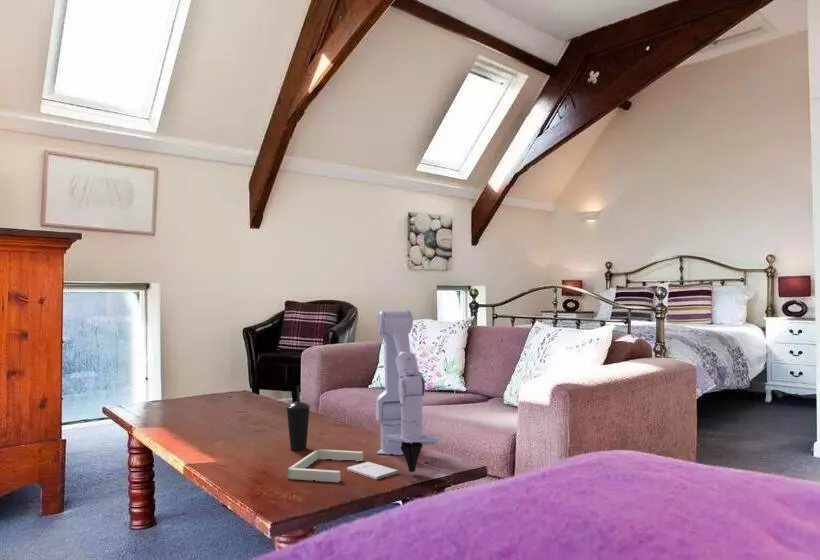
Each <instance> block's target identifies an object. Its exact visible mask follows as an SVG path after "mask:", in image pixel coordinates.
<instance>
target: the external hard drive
mask: <svg viewBox="0 0 820 560" xmlns="http://www.w3.org/2000/svg"><path fill="white" fill-rule="evenodd" d="M347 470H348V471H347ZM346 471H347V472H349V471H351V472H350V473H352V472H354V473H353V474H355V473H358V474H361V475H364V476H367V477H370V478H373V479H380V478H383V477H386V476H389V475H392V474H394V473H398V472H399V473H400V470H398V469H395V468H391V467H387V466H384V465H381V464H377V463H374V462H370V461H365V462H360V463H357V464H355V465H352V466H351V465H350V466H348V467H346ZM358 474H357V475H358ZM361 475H360V476H361ZM364 476H363V477H364ZM367 477H366V478H367ZM370 478H369V479H370ZM373 479H372V480H373ZM380 480H381V479H380Z"/></svg>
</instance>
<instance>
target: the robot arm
mask: <svg viewBox="0 0 820 560" xmlns="http://www.w3.org/2000/svg"><path fill="white" fill-rule="evenodd" d="M413 322H414V317H413V313H412V311H411V310H410V309H407V310H380V311H379V312H378V313H377V334H378V337H379V338H380V337H381V338H383V342H384V390H383V391H382V392H381V393H380V394H379V395H377V396H376V399H375V401H376V402H375V411H374V412H375V413H374V414H375V418H376V421H377V422H378V423H380V449H379V450H377V451H376V454H378V455H390V454H393V455H395V456H402V455H403V456H404V458H405V460H406V463H407V467H408V472H409V473H414V472H415V471H416V469H417V463H418V459H419V456H420V453H421V450H422V449H423V446H425V445H426V446H435V447H438V446H439V444H440V436H431V435H424V434H423V397H424V396H425V394H426V393H425V392H426V383H425V377H424V376H423V374H422V372H421V371H419V370H420V369H419V366H418V362H417V358H416V357H417V356H416V355H415V354H414V353H413V352H411V345H410V337H409V334H410V333H411V331H412V329H413V326H414V323H413Z"/></svg>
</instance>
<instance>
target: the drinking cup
mask: <svg viewBox="0 0 820 560" xmlns="http://www.w3.org/2000/svg"><path fill="white" fill-rule="evenodd" d="M310 408H311V404H310V403H307V402H304V401H300V385H299V384H297V385H296V401H294V402H291V403H288V404H287V405H285V409H286V414H287V425H288V435H289V446H290V450H291V451H293V452H301V451H305V450H307V445H308V432H309V431H308V430H309V419H310Z"/></svg>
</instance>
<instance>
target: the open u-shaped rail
mask: <svg viewBox="0 0 820 560" xmlns="http://www.w3.org/2000/svg"><path fill="white" fill-rule="evenodd" d="M317 459H318V460H326V459H332V460H331V461H342V460H356V461H355V462H358V461H362V460H363V461H364V451H357V450H338V449H323V448H321V449H320V448H317V449H314V451H312V452H311V453H309V454H308V455H306V456H305V457H303V458H302V459H300V460H299V461H297V462H296V463H294V464H293V465H291V466H289V467H288V468H287V469H286V479H288V480H298V481H299V480H302V481H313V480H315V482H329V483H330V482H331V483H340V482H341V470H330V469H319V468H318V469H317V468H308V467H309V466H311V465H312V464H313V463H315V462H316V461H318V460H317ZM314 461H315V462H314ZM363 461H362V462H363ZM310 464H311V465H310ZM306 467H307V468H306ZM339 481H340V482H339Z"/></svg>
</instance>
